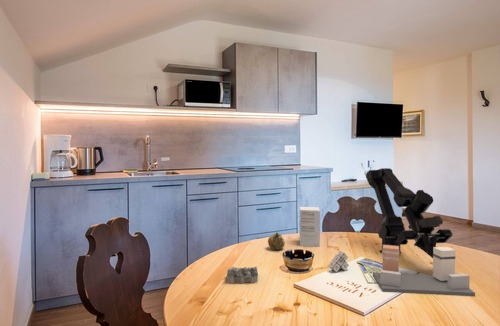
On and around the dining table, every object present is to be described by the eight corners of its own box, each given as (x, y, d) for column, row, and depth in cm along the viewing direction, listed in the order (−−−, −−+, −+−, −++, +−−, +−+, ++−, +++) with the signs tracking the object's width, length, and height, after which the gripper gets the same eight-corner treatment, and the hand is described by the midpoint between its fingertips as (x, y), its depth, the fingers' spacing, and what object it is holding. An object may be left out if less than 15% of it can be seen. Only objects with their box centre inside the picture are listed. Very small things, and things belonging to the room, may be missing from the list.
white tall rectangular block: (432, 276, 117) (433, 247, 117) (446, 275, 118) (447, 246, 117) (440, 280, 113) (441, 250, 113) (454, 280, 114) (455, 250, 113)
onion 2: (288, 248, 155) (288, 230, 155) (280, 252, 148) (280, 234, 148) (273, 245, 159) (273, 228, 159) (265, 250, 152) (264, 232, 152)
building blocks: (340, 276, 126) (353, 259, 128) (332, 268, 124) (345, 250, 126) (331, 272, 131) (343, 255, 133) (323, 263, 129) (335, 247, 131)
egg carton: (226, 284, 115) (226, 272, 115) (227, 276, 122) (227, 264, 122) (258, 284, 115) (258, 272, 114) (257, 276, 122) (257, 264, 122)
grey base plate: (372, 275, 122) (372, 261, 122) (453, 278, 119) (454, 264, 119) (382, 291, 108) (382, 275, 108) (474, 295, 105) (475, 279, 105)
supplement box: (299, 240, 168) (299, 206, 167) (318, 241, 166) (319, 206, 166) (299, 246, 158) (299, 209, 158) (320, 246, 157) (320, 210, 156)
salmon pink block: (382, 272, 121) (382, 244, 120) (398, 274, 119) (399, 246, 118) (382, 276, 117) (382, 247, 116) (398, 279, 115) (399, 249, 114)
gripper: (402, 208, 123) (420, 247, 112) (449, 207, 126) (472, 245, 115) (389, 225, 131) (406, 263, 121) (435, 223, 134) (455, 261, 123)
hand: (435, 258), depth 120 cm, fingers closed
